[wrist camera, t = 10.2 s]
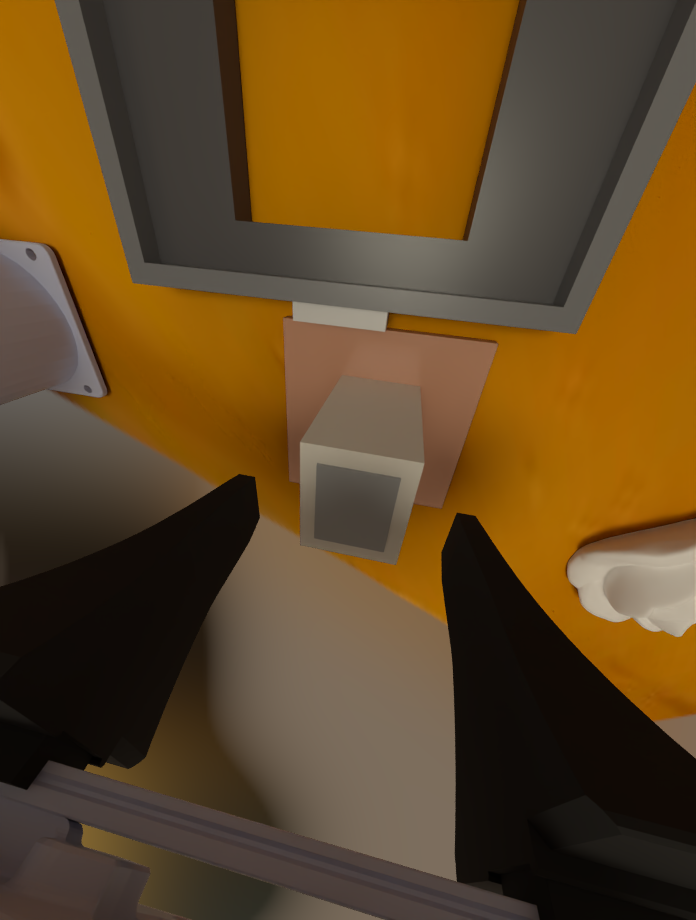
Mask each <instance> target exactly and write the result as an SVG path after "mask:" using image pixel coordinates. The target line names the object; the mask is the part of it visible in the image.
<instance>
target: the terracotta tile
mask: <svg viewBox="0 0 696 920" xmlns="http://www.w3.org/2000/svg"><path fill="white" fill-rule="evenodd" d="M283 325H284V352H285V378H286V405H287V432H288V459H289V481H290V482H296V483H300V441H301V440H302V438H303V436H304V435H305V433H306V432H307V430H308V428H309V427H310V425H311V424H312V422H313V420H314V419H315V417H316V416H317V414H318V412H319V411H320V409H321V408H322V406H323V405H324V403H325V401H326V400H327V398H328V397H329V395H330V393H331V392H332V390H333V389H334V387H335V385H336V384H337V382H338V381H339V379H340V377H341V376H342V375H346V376H353V377H359V378H366V379H373V380H380V381H387V382H393V383H400V384H407V385H414V386H420V391H421V409H422V426H423V444H424V462H425V464H424V467H423V471H422V474H421V478H420V482H419V485H418V489H417V492H416V496H415V499H414V503H413V504H419V505H424V506H430V507H435V508H441V509H442V506H443V503H444V500H445V497H446V494H447V491H448V488H449V486H450V483H451V480H452V477H453V474H454V471H455V468H456V465H457V462H458V459H459V457H460V454H461V451H462V448H463V445H464V442H465V439H466V436H467V433H468V430H469V428H470V425H471V422H472V419H473V416H474V413H475V410H476V407H477V404H478V401H479V399H480V396H481V393H482V390H483V387H484V384H485V381H486V378H487V375H488V372H489V370H490V367H491V364H492V361H493V358H494V355H495V352H496V349H497V346H498V343H497V342H496V341H492V340H484V339H476V338H467V337H459V336H451V335H442V334H434V333H426V332H417V331H409V330H401V329H392V328H386V331H385V332H382V331H373V330H365V329H357V328H349V327H341V326H332V325H324V324H316V323H308V322H300V321H293V316H286V317H284V318H283Z"/></svg>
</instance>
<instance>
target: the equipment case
mask: <svg viewBox="0 0 696 920" xmlns="http://www.w3.org/2000/svg"><path fill="white" fill-rule="evenodd" d="M55 3H56V7H57V10H58V14H59V18H60V21H61V25H62V29H63V32H64V36H65V39H66V43H67V47H68V50H69V54H70V57H71V61H72V65H73V68H74V72H75V75H76V79H77V83H78V86H79V90H80V94H81V97H82V101H83V104H84V108H85V112H86V115H87V119H88V122H89V126H90V130H91V133H92V137H93V141H94V144H95V148H96V151H97V155H98V159H99V162H100V166H101V169H102V173H103V177H104V180H105V184H106V187H107V191H108V195H109V198H110V202H111V206H112V209H113V213H114V216H115V220H116V224H117V227H118V231H119V234H120V238H121V242H122V245H123V249H124V253H125V256H126V260H127V263H128V267H129V271H130V274H131V278H132V281H133V283H138V284H146V285H155V286H164V287H173V288H181V289H190V290H199V291H207V292H216V293H225V294H233V295H242V296H251V297H259V298H268V299H277V300H286V301H293V321H300V322H308V323H316V324H324V325H332V326H341V327H349V328H357V329H365V330H373V331H382V332H385V331H386V328H387V322H388V315H389V312H390V313H399V314H407V315H416V316H425V317H433V318H442V319H451V320H459V321H468V322H477V323H485V324H494V325H503V326H512V327H520V328H529V329H538V330H546V331H555V332H564V333H572V334H576V333H577V331H578V329H579V327H580V325H581V323H582V320H583V318H584V316H585V314H586V312H587V310H588V308H589V306H590V304H591V302H592V299H593V297H594V295H595V293H596V291H597V289H598V287H599V285H600V283H601V280H602V278H603V276H604V274H605V272H606V270H607V268H608V266H609V264H610V262H611V259H612V257H613V255H614V253H615V251H616V249H617V247H618V245H619V243H620V240H621V238H622V236H623V234H624V232H625V230H626V228H627V226H628V224H629V222H630V219H631V217H632V215H633V213H634V211H635V209H636V207H637V205H638V203H639V201H640V198H641V196H642V194H643V192H644V190H645V188H646V186H647V184H648V182H649V179H650V177H651V175H652V173H653V171H654V169H655V167H656V165H657V163H658V161H659V158H660V156H661V154H662V152H663V150H664V148H665V146H666V144H667V142H668V139H669V137H670V135H671V133H672V131H673V129H674V127H675V125H676V123H677V121H678V118H679V116H680V114H681V112H682V110H683V108H684V106H685V104H686V102H687V99H688V97H689V95H690V93H691V91H692V89H693V87H694V85H695V83H696V0H520V2H519V6H518V11H517V15H516V19H515V23H514V27H513V32H512V36H511V40H510V44H509V49H508V53H507V57H506V61H505V65H504V70H503V74H502V78H501V82H500V86H499V91H498V95H497V99H496V103H495V107H494V112H493V116H492V120H491V124H490V128H489V133H488V137H487V141H486V145H485V149H484V154H483V158H482V162H481V166H480V171H479V175H478V179H477V183H476V187H475V192H474V196H473V200H472V204H471V208H470V213H469V217H468V221H467V225H466V229H465V234H464V238H463V240H452V239H440V238H429V237H417V236H406V235H395V234H383V233H372V232H361V231H349V230H338V229H327V228H315V227H304V226H293V225H281V224H270V223H258V222H252V219H251V206H250V193H249V180H248V168H247V155H246V142H245V129H244V116H243V103H242V91H241V78H240V65H239V52H238V39H237V27H236V14H235V1H234V0H55Z"/></svg>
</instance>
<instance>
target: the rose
mask: <svg viewBox="0 0 696 920" xmlns="http://www.w3.org/2000/svg"><path fill="white" fill-rule="evenodd" d="M567 575H568V579H569V581H570V583H571V584H572V585H574V586H575V587H576V588H577V589H578V594H579V598H580V602H581V604H582V606H583V607H584V608H585V609H586V610H587V611H589V612H590V613H592V614H593V615H595V616H598V617H601V618H604V619H606V620H609V621H612V622H622V621H625V620H627V619H629V618H633V619H634V620H635V621H636V622H638V623H639V624H640V625H641V626H642V627H644V628H645V629H647V630H650V631H655V632H656V631H661V630H664V631H665V632H667V633H669V634H671V635H673V636H677V637H680V636H682V635H683V634H684V632H685V631H686V630H687V629H688V628H689V627H690V626H691V625H692V624H695V623H696V518H695V519H690V520H686V521H681V522H677V523H673V524H669V525H665V526H660V527H655V528H651V529H646V530H641V531H636V532H632V533H627V534H623V535H618V536H614V537H609V538H606V539H603V540H600V541H596V542H593V543H590V544H587V545H585V546H583V547H582V548H580V549H579V550H578V551H576V552H575V554H574V555H573V556H572V557H571V558H570V560H569V561H568V564H567Z"/></svg>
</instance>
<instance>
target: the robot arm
mask: <svg viewBox="0 0 696 920" xmlns="http://www.w3.org/2000/svg"><path fill="white" fill-rule="evenodd" d="M34 253H35V254H36V256H35V254H34ZM45 389H49V390H55V391H61V392H67V393H74V394H80V395H86V396H92V397H98V398H99V397H103V396H105V395H107V388H106V386H105V383H104V381H103V378H102V375H101V373H100V370H99V368H98V365H97V362H96V360H95V357H94V355H93V352H92V349H91V347H90V344H89V342H88V339H87V336H86V334H85V331H84V329H83V326H82V323H81V321H80V318H79V316H78V313H77V310H76V308H75V305H74V303H73V300H72V297H71V295H70V292H69V290H68V287H67V284H66V282H65V279H64V277H63V274H62V271H61V269H60V266H59V264H58V261H57V258H56V256H55V254H54V252H53V251H52V250H51V248H50V247H48V246H47V245H46V244H43V243H34V242H25V241H15V240H5V239H0V405H1V404H4V403H7V402H10V401H13V400H16V399H19V398H22V397H24V396H27V395H30V394H33V393H36V392H39V391H42V390H45ZM259 518H260V515H259V507H258V498H257V490H256V481H255V477H252V476H247V475H241V474H239V475H237V476H235V477H233V478H232V479H230V480H229V481H227V482H225V483H224V484H222V485H221V486H219V487H218V488H216V489H214V490H213V491H211V492H210V493H208V494H207V495H205V496H203V497H202V498H200V499H198V500H197V501H195V502H194V503H192V504H190V505H189V506H187V507H185V508H184V509H182V510H180V511H178V512H177V513H175V514H173V515H171V516H169V517H168V518H166V519H164V520H163V521H161V522H159V523H157V524H155V525H153V526H152V527H149V528H148V529H146V530H144V531H142V532H140V533H138V534H135V535H133V536H131V537H129V538H127V539H125V540H123V541H121V542H119V543H116V544H114V545H112V546H109V547H107V548H105V549H102V550H100V551H97V552H95V553H93V554H90V555H88V556H86V557H83V558H81V559H78V560H76V561H73V562H71V563H68V564H65V565H63V566H60V567H57V568H54V569H52V570H49V571H47V572H44V573H40V574H38V575H35V576H32V577H29V578H26V579H23V580H20V581H17V582H14V583H11V584H8V585H5V586H1V587H0V920H191V919H187V918H184V917H181V916H177V915H174V914H170V913H167V912H164V911H161V910H158V909H154V908H151V907H148V906H144V905H141V904H138V902H139V899H140V897H141V894H142V892H143V890H144V887H145V885H146V883H147V880H148V878H149V876H150V868H149V867H146V866H143V865H140V864H138V863H135V862H132V861H129V860H126V859H123V858H120V857H117V856H114V855H111V854H107V853H104V852H101V851H97V850H93V849H90V848H86V847H84V846H83V845H82V843H81V839H82V835H83V828H82V825H81V824H80V823H82V824H85V825H88V826H91V827H95V828H98V829H101V830H104V831H107V832H111V833H113V834H117V835H120V836H123V837H126V838H129V839H132V840H135V841H139V842H142V843H145V844H148V845H151V846H155V847H157V848H161V849H164V850H167V851H170V852H173V853H176V854H180V855H183V856H186V857H189V858H192V859H196V860H198V861H202V862H205V863H208V864H211V865H214V866H217V867H221V868H224V869H227V870H230V871H234V872H236V873H240V874H243V875H246V876H249V877H252V878H255V879H258V880H262V881H265V882H268V883H271V884H274V885H278V886H280V887H283V888H287V889H290V890H293V891H296V892H300V893H302V894H306V895H309V896H312V897H315V898H318V899H321V900H324V901H328V902H331V903H334V904H337V905H340V906H343V907H347V908H350V909H353V910H356V911H359V912H362V913H365V914H369V915H372V916H375V917H378V918H381V919H385V920H696V759H695V758H694V757H693V756H692V755H691V754H690V753H688V752H687V751H686V750H685V749H684V748H682V747H681V746H680V745H679V744H678V743H676V742H675V741H674V740H673V739H672V738H671V737H669V735H667V734H666V733H665V732H664V731H663V730H662V729H661V728H660V727H659V726H657V725H656V724H655V723H654V722H653V721H652V720H651V719H650V718H649V717H648V716H646V715H645V714H644V713H643V712H642V711H641V710H640V709H639V708H638V707H637V706H636V705H634V704H633V703H632V702H631V701H630V700H629V699H628V698H627V697H626V696H625V695H624V694H623V693H622V692H621V691H620V690H619V689H617V688H616V687H615V686H614V685H613V684H612V683H611V682H610V681H609V680H608V679H607V678H606V677H605V676H604V675H603V674H602V673H601V672H600V671H599V670H598V669H597V668H596V667H595V666H594V665H593V664H592V663H591V662H590V661H589V660H588V659H587V658H586V657H585V656H584V655H583V654H582V653H581V652H580V650H579V649H578V648H577V647H576V646H575V645H574V644H573V643H572V642H571V641H570V640H569V639H568V638H567V637H566V635H565V634H564V633H563V632H562V631H561V630H560V629H559V628H558V626H557V625H556V624H555V623H554V622H553V621H552V620H551V619H550V618H549V616H548V615H547V614H546V613H545V612H544V610H543V609H542V608H541V607H540V606H539V604H538V603H537V602H536V601H535V599H534V598H533V597H532V596H531V594H530V593H529V592H528V591H527V589H526V588H525V587H524V586H523V584H522V583H521V582H520V580H519V579H518V578H517V576H516V575H515V573H514V572H513V571H512V569H511V568H510V566H509V565H508V564H507V562H506V561H505V559H504V558H503V557H502V555H501V554H500V552H499V551H498V549H497V548H496V546H495V545H494V543H493V542H492V540H491V539H490V537H489V536H488V534H487V533H486V531H485V530H484V528H483V527H482V525H481V524H480V522H479V521H478V519H477V518H476V516H472V515H467V514H461V513H457V514H456V516H455V519H454V521H453V524H452V527H451V529H450V532H449V534H448V537H447V540H446V542H445V545H444V547H443V550H442V586H443V593H444V601H445V608H446V615H447V623H448V630H449V637H450V644H451V653H452V662H453V682H454V683H453V684H454V710H455V754H456V756H455V757H456V758H455V759H456V813H455V816H456V817H455V819H456V821H455V827H456V828H455V862H456V875H457V882H456V881H453V880H449V879H446V878H443V877H439V876H436V875H432V874H429V873H426V872H422V871H419V870H416V869H412V868H409V867H405V866H402V865H399V864H396V863H392V862H389V861H385V860H382V859H379V858H375V857H372V856H369V855H365V854H362V853H358V852H355V851H352V850H349V849H345V848H342V847H338V846H335V845H332V844H328V843H325V842H321V841H318V840H315V839H312V838H308V837H305V836H301V835H298V834H295V833H291V832H288V831H284V830H281V829H278V828H275V827H271V826H268V825H264V824H261V823H258V822H254V821H251V820H248V819H244V818H241V817H238V816H234V815H231V814H228V813H224V812H221V811H218V810H214V809H211V808H207V807H204V806H201V805H197V804H194V803H191V802H187V801H183V800H181V799H177V798H174V797H171V796H167V795H164V794H160V793H157V792H153V791H150V790H147V789H144V788H140V787H137V786H133V785H130V784H127V783H123V782H120V781H117V780H113V779H110V778H106V777H103V776H100V775H96V774H93V773H90V772H87V771H84V769H85V768H86V766H87V764H90V765H94V766H98V767H102V766H103V765H104V764H105V763H106V762H107V763H110V764H113V765H117V766H120V767H124V768H127V769H129V768H131V767H133V766H135V765H136V764H138V763H139V762H140V761H142V760H143V759H144V758H145V757H146V755H147V752H148V749H149V747H150V744H151V741H152V739H153V736H154V734H155V731H156V729H157V726H158V724H159V721H160V719H161V716H162V714H163V711H164V709H165V706H166V704H167V701H168V699H169V697H170V694H171V692H172V690H173V687H174V685H175V683H176V680H177V678H178V676H179V673H180V671H181V669H182V666H183V664H184V662H185V660H186V658H187V655H188V653H189V651H190V649H191V646H192V644H193V642H194V640H195V638H196V636H197V634H198V632H199V629H200V627H201V625H202V623H203V621H204V619H205V617H206V615H207V613H208V611H209V609H210V607H211V605H212V603H213V602H214V600H215V598H216V596H217V594H218V593H219V591H220V589H221V588H222V586H223V585H224V583H225V581H226V580H227V578H228V576H229V574H230V573H231V571H232V570H233V568H234V567H235V565H236V563H237V561H238V560H239V558H240V556H241V555H242V553H243V551H244V550H245V548H246V546H247V545H248V543H249V541H250V539H251V537H252V535H253V532H254V530H255V528H256V525H257V523H258V520H259Z"/></svg>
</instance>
